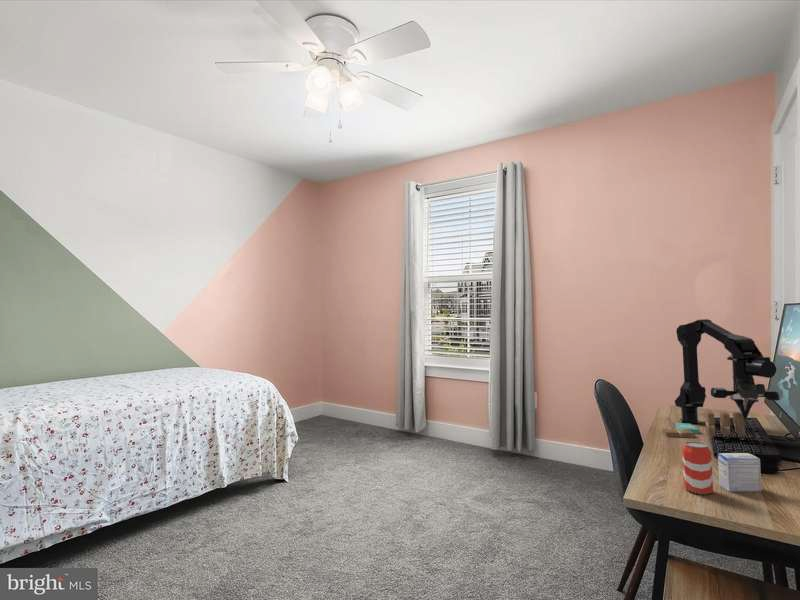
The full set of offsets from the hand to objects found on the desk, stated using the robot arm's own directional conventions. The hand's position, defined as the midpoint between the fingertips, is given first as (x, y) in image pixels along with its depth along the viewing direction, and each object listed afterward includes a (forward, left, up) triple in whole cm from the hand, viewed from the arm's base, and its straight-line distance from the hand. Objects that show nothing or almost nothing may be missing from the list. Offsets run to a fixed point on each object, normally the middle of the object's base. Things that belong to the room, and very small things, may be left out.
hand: (744, 418), depth 162 cm
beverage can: (+57, -23, -8) cm, 62 cm away
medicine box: (+52, -13, -8) cm, 54 cm away
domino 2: (0, -10, -7) cm, 13 cm away
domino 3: (0, -6, -7) cm, 10 cm away
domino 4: (0, -1, -7) cm, 8 cm away
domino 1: (0, -16, -7) cm, 18 cm away
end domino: (-4, -16, -7) cm, 18 cm away
